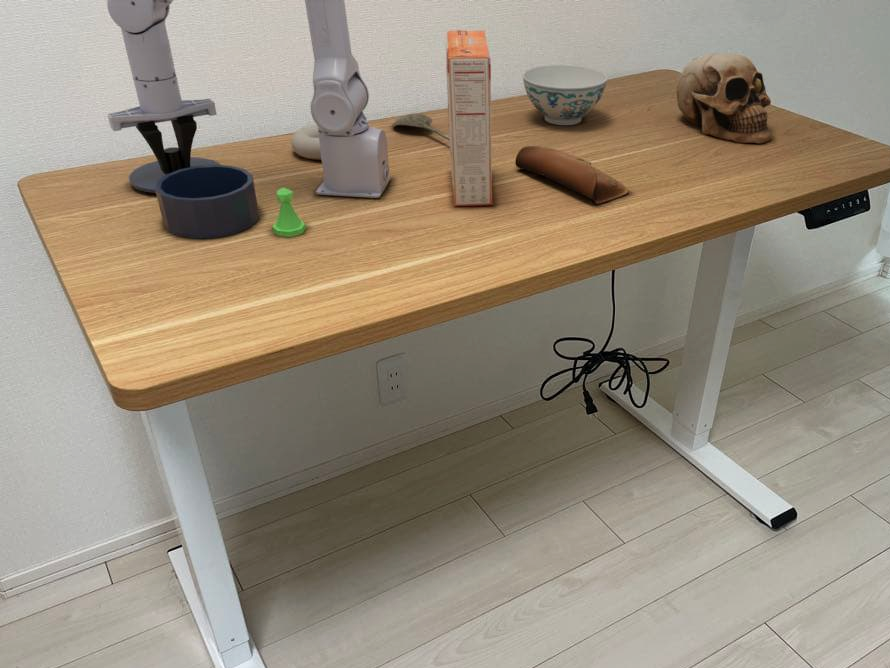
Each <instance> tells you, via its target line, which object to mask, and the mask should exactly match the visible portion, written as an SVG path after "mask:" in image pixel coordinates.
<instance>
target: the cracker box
mask: <svg viewBox="0 0 890 668" xmlns="http://www.w3.org/2000/svg"><path fill="white" fill-rule="evenodd" d="M445 33H446V34H445V35H446V36H445V38H446V39H445V41H446V43H445V46H446V47H445V58H446V59H445V63H446V64H445V67H446V69H445V70H446V90H447V91H446V95H447V115H448V117H447V118H448V136H449V139H450V140H449V155H450V174H451V187H452V196H453V205H454V207H471V206H473V207H475V206H476V207H477V206H493V164H492V163H493V162H492V161H493V160H492V158H493V156H492V79H491V78H492V71H491V70H492V64H491V54H490V48H489V45H488V41H487V35H486V31H485V30H462V29H459V30H458V29H457V30H447V31H445Z"/></svg>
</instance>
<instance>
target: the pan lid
mask: <svg viewBox="0 0 890 668" xmlns="http://www.w3.org/2000/svg"><path fill="white" fill-rule="evenodd" d="M164 152H165V156H166V159H167V163H168V166H169V171H170V173H172V172H175V171H177V170H180V169H184V165H183V160H182V156H181V151H180V149H179V148H178V147H174V146H173V147H167V148H164ZM204 165H222V164H221V163H219V162H217V160H213V159H209V158H205V157H197V156H196V157H195V156H194V157H193V156H191V157H190V167H194V166H204ZM165 175H167V174H164V173H163V172H162V170H161V168H160V165H159V163H158V160H154V161H152V162H148V163H146V164H143V165H141V166H139V167H137V168H135V169H134V170H133V171H131V172H130V174H129V176H128V180H129V184H130V185H131V187H133V188H134V189H136V190H138V191H141V192H146V193H151V194H152V193H153V194H156V191H155V187H156V182H157V181H158V180H160V179H161V178H162V177H164V176H165Z"/></svg>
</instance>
